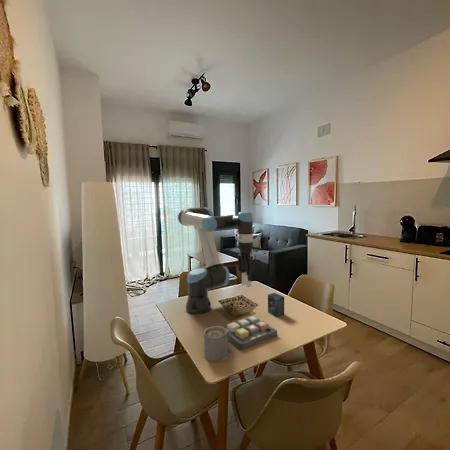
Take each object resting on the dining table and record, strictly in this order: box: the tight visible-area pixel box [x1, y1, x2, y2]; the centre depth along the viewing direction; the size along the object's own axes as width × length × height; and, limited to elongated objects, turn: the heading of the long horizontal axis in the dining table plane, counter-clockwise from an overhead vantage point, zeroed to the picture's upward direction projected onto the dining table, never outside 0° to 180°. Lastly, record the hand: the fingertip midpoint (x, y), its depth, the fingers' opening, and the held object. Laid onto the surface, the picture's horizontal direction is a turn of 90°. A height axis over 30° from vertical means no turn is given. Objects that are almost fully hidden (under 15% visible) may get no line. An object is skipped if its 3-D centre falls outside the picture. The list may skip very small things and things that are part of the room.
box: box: [267, 292, 285, 318], centre depth 146 cm, size 8×6×11 cm
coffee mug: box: [203, 325, 230, 362], centre depth 110 cm, size 13×10×10 cm
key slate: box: [246, 315, 260, 325], centre depth 131 cm, size 4×4×2 cm
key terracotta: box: [256, 320, 270, 331], centre depth 125 cm, size 4×4×2 cm
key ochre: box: [235, 328, 249, 339], centre depth 118 cm, size 4×4×2 cm
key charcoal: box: [246, 324, 259, 335], centre depth 122 cm, size 4×4×2 cm
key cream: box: [226, 321, 240, 332], centre depth 124 cm, size 4×4×2 cm
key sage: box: [236, 318, 250, 328], centre depth 127 cm, size 4×4×2 cm
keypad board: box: [223, 318, 278, 351], centre depth 125 cm, size 18×21×3 cm
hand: (246, 285), depth 137 cm, fingers open, 3 cm apart
